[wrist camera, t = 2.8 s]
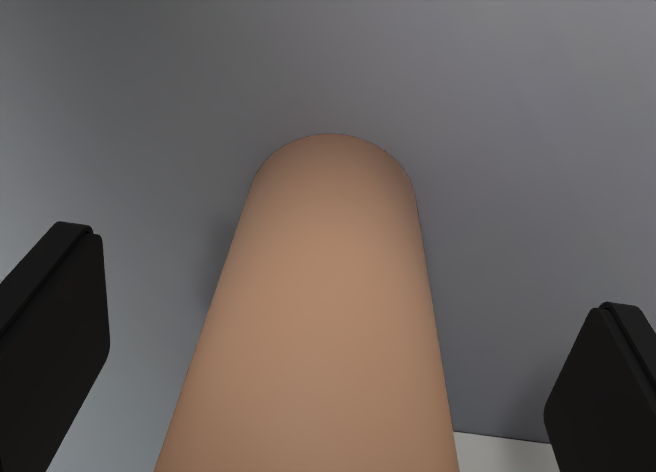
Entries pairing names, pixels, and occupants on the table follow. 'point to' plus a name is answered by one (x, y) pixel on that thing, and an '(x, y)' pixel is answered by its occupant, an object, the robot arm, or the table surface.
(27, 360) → the robot arm
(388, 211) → the peg
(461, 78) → the table surface
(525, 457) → the holed box
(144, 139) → the table surface
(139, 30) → the table surface
